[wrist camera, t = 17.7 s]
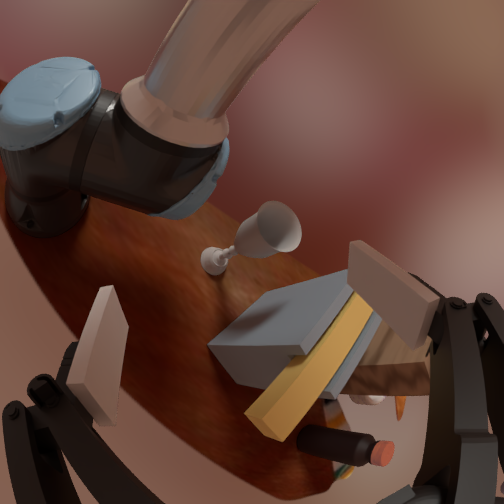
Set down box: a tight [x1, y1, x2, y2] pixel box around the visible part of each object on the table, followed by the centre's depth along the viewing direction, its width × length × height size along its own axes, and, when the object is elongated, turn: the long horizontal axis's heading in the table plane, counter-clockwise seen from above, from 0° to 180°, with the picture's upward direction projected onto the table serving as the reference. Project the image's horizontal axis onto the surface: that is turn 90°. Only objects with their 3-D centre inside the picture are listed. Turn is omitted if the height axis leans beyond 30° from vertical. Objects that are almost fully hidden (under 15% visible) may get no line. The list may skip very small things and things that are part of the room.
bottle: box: [297, 425, 394, 467], centre depth 42 cm, size 7×7×20 cm
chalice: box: [201, 201, 302, 275], centre depth 42 cm, size 7×7×18 cm
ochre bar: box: [244, 291, 373, 442], centre depth 31 cm, size 4×24×3 cm, turn 132°
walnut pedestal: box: [339, 319, 432, 396], centre depth 46 cm, size 8×14×28 cm, turn 132°
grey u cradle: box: [207, 269, 382, 400], centre depth 41 cm, size 9×16×22 cm, turn 132°
